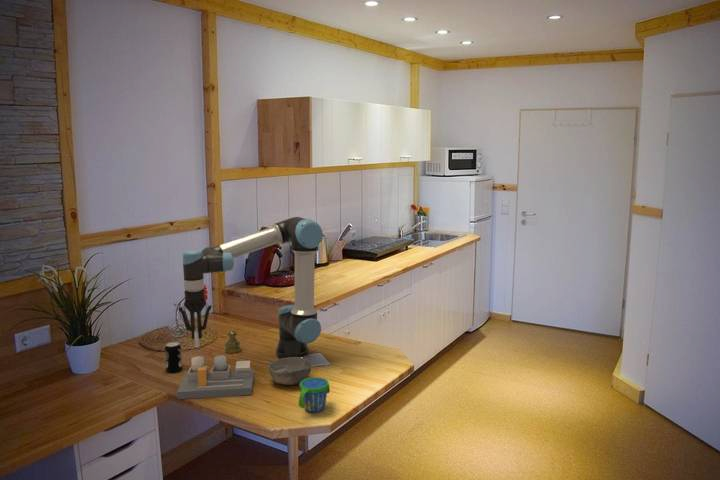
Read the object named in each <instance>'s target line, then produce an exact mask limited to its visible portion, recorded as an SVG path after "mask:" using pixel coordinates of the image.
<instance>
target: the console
mask: <svg viewBox="0 0 720 480" xmlns="http://www.w3.org/2000/svg"><path fill="white" fill-rule="evenodd" d="M204 367H207V386H201V387H198V372H192V366H189V369H188V372H187V373H184V376H183V379H182V380H181V382H180V385H179V387H178V389H177V392H176V397H177V398H176V399H177V400H189V399H206V398H209V399H211V398H222V397H223V398H227V397H241V396H240V395H246V396H252V393H253V388H254V383H253V382H255V370H254V369H252V367H250V371H239V372H236V370H233V371H232V369H231V364H227V369H226V370H224V371H215V367H214V365H212V368H211V370H210V372H209V365H204ZM226 396H227V397H226Z"/></svg>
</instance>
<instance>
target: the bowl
mask: <svg viewBox="0 0 720 480" xmlns="http://www.w3.org/2000/svg"><path fill="white" fill-rule="evenodd" d="M267 370H268V372H269V375H270V376H271V378H272V379H273V381H274V382H276V383H277V384H281V385H285V386H292V385H293V386H294V385H298V384H300V382H301V381H302V380H304V379H307V378H308V376H309V375H310V374H311V371H312V362H311V361H310V360H309V359H307V358H305V357H303V358H301V357H289V358H279V359H276V360H272V361H270V363H269V364H268V366H267Z"/></svg>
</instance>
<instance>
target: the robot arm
mask: <svg viewBox="0 0 720 480" xmlns="http://www.w3.org/2000/svg"><path fill="white" fill-rule="evenodd" d="M323 234H324V233H323V229H322V227H321V226H320V224H318V222H316V221H314V220H313V219H308V218H303V217H300V216H294V217H290V218H287V219H284V220H281V221H278V222H276V223H273V224H272V225H271V226H270V227H268V228H265V229H262V230H259V231H256V232H254V233H251V234H247V235H245V236H241V237H238V238H236V239H233V240H229V241H227V242H224V243H221V244H217V245H215V246H212V247H210V246H207V247H203V248H201V249H188V250H185V251H184V252H183V253H182V269H183V287H184V288H183V289H184V302H183V305H180V306H179V308H178V311H179V312H180V313H181V317H182V319H183V322H184V326H185V328H186V329H185V330H187V331H189V332H191V339H192V340H194V348H200V346H201V345H200V344H201V343H200V340H202V337H203V331H204V330H206V328H207V326H208V320H209V315H210V311H211V309H212V307H213V305H212V304H208V303H207V301H206V298H205V297H206V296H205V289H204V288H205V283H204V282H205V279H204V277H205V275H204V274H212V273H224V272H228V271H232V270H233V269H234V265H235V264H234V259H235V258H239V257H242V256H244V255H247V254H250V253H254V252H256V251H259V250H262V249H264V248H268V247H270V246H273V245H277V244H278V245H283V244H287V243H291V244H290V245H291V247H290V248H291V249H290V250H291V251H292V253H293V254H294V302H293V304H287V305H283V306H280V307H279V308H278V314H277V316H278V335H279V336H278V337H279V338H278V341H277V345H276V349H275V355H276V357H277V358H279V359H282V358H289V357H303V358H305V357H307V356H309V354H310V350H309V349H310V348H309V346H308V344H311V343H313V342H315V341H316V340H317V339H318V338H319V337H320V335H321V333H322V325H321V323H320V321H319V320H318V310H317V309H316V308H315V262H316V261H315V257H316V256H315V255H316V253H318V251H319V245H320V244H321V243H322V241H323V236H324V235H323ZM203 309H205V310H206V311H205V313H204V319H203V324H202V310H203ZM186 310H187V311H188V312H189V316H190V322H189V318H188V315H187V312H186ZM195 313H196V317H195ZM196 318H197V319H196ZM195 319H196V321H197V322H196V321H195ZM196 323H197V329H196ZM306 355H307V356H306ZM304 356H305V357H304Z"/></svg>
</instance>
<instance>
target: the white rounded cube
mask: <svg viewBox="0 0 720 480" xmlns="http://www.w3.org/2000/svg"><path fill="white" fill-rule="evenodd" d="M190 361H191V367H192V372H198V368H199V367H204V366H205V359H204V356H199V355H198V356H193V357H191V359H190Z"/></svg>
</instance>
